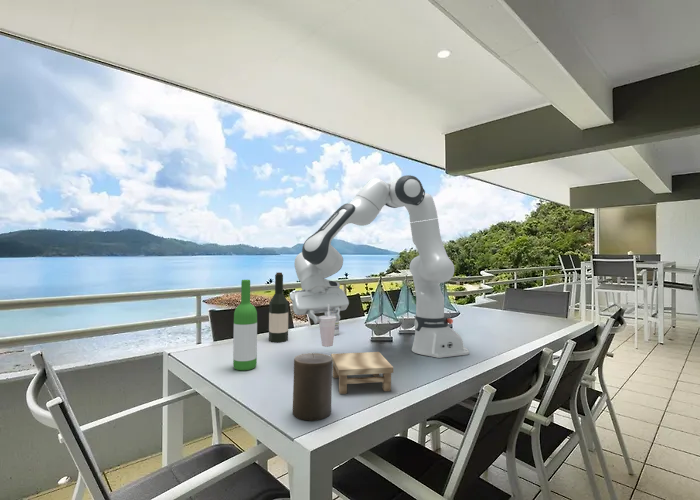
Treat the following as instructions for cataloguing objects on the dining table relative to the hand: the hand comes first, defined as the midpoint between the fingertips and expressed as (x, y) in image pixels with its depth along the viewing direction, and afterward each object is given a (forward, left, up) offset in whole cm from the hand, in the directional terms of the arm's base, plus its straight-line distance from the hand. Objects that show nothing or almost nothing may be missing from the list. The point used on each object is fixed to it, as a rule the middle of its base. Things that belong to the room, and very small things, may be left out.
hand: (327, 321), depth 125 cm
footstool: (-8, +13, -17) cm, 23 cm away
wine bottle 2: (+17, -43, -17) cm, 49 cm away
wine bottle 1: (+28, -7, -17) cm, 33 cm away
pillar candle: (+8, +31, -17) cm, 36 cm away
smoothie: (0, -1, -8) cm, 9 cm away
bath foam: (-8, -52, -17) cm, 55 cm away
